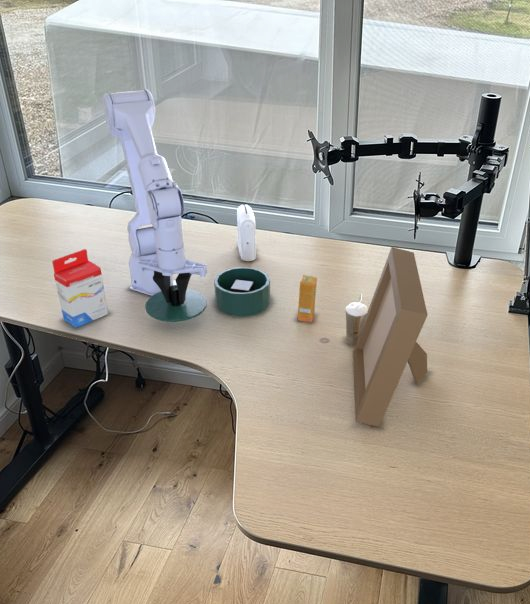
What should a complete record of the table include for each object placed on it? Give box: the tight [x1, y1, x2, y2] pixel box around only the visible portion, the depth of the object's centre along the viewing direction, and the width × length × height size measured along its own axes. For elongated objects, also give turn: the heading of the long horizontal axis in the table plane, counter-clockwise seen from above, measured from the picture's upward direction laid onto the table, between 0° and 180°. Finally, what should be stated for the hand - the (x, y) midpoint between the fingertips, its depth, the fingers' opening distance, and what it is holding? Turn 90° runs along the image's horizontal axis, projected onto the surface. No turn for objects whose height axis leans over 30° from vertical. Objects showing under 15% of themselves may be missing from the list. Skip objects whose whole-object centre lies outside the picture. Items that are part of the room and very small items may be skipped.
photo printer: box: [236, 204, 257, 262], centre depth 169 cm, size 10×4×12 cm, turn 10°
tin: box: [213, 266, 271, 318], centre depth 150 cm, size 12×12×6 cm
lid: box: [144, 285, 208, 323], centre depth 142 cm, size 13×13×5 cm
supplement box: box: [297, 274, 318, 323], centre depth 144 cm, size 3×3×10 cm
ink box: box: [52, 248, 109, 329], centre depth 141 cm, size 8×5×15 cm, turn 137°
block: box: [231, 280, 254, 293], centre depth 151 cm, size 4×4×4 cm
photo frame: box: [352, 246, 428, 428], centre depth 120 cm, size 15×22×25 cm
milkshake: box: [345, 293, 369, 346], centre depth 137 cm, size 4×5×10 cm
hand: (175, 301), depth 143 cm, fingers closed on lid, 2 cm apart
